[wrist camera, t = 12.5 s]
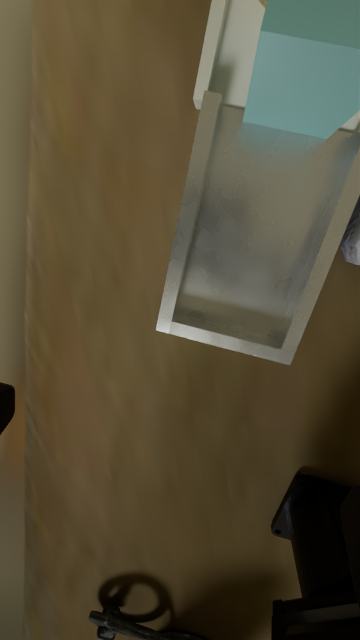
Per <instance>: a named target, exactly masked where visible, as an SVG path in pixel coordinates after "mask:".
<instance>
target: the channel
mask: <svg viewBox="0 0 360 640" xmlns="http://www.w3.org/2000/svg"><path fill="white" fill-rule="evenodd" d="M244 112H245V111H243V110H238V109H233V108H228V107H224V106H222V94H220V93H215V92H210V91H205V90H204V94H203V99H202V104H201V109H200V114H199V119H198V124H197V129H196V134H195V139H194V144H193V149H192V154H191V158H190V163H189V168H188V173H187V178H186V183H185V188H184V193H183V198H182V203H181V208H180V213H179V218H178V223H177V228H176V233H175V238H174V243H173V248H172V253H171V257H170V262H169V267H168V272H167V277H166V282H165V287H164V292H163V297H162V302H161V307H160V312H159V317H158V322H157V327H156V330H157V331H161V332H165V333H169V334H172V335H176V336H180V337H184V338H188V339H192V340H195V341H199V342H203V343H207V344H211V345H214V346H218V347H222V348H226V349H230V350H234V351H237V352H241V353H245V354H249V355H253V356H257V357H260V358H264V359H268V360H272V361H276V362H280V363H283V364H287V365H290V364H291V362H292V359H293V357H294V354H295V352H296V349H297V347H298V345H299V342H300V340H301V337H302V335H303V332H304V330H305V327H306V325H307V323H308V320H309V318H310V315H311V313H312V310H313V308H314V305H315V303H316V301H317V298H318V296H319V293H320V291H321V288H322V286H323V283H324V281H325V279H326V276H327V274H328V271H329V269H330V266H331V264H332V261H333V259H334V257H335V254H336V252H337V249H338V247H339V244H340V242H341V239H342V237H343V235H344V232H345V230H346V227H347V225H348V222H349V220H350V218H351V215H352V213H353V210H354V208H355V205H356V203H357V200H358V198H359V196H360V130H358V131H357V132H355V133H354V134H353V133H348V132H343V131H338V130H336V131H335V132H334V133H333V134H332V135H331V136H330V137H328V138H327V139H324V138H319V137H314V136H309V135H304V134H300V133H295V132H290V131H285V130H280V129H276V128H271V127H266V126H261V125H256V124H251V123H247V122H243V117H244Z"/></svg>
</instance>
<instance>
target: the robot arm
mask: <svg viewBox="0 0 360 640" xmlns="http://www.w3.org/2000/svg"><path fill="white" fill-rule="evenodd" d="M14 412H15V389H14V387H13V386H12V385H8V384H5V383H1V382H0V435H1V433H2V432H3V431H4V429H5V428H6V426H7V425H8V423H9V422H10V421H11V419H12V418H13V415H14ZM302 481H304V482H302ZM271 530H272V533H273V534H274V535H276V536H279V537H282V538H285V539H289V540H291V544H292V549H293V554H294V559H295V564H296V569H297V574H298V579H299V584H300V589H301V594H302V598H298V599H292V600H286V601H282V600H281V599H280V600H274V601H273V616H272V636H271V640H360V483H357V484H355V485H354V486H353V487H352V488H349V487H346V486H342V485H339V484H335V483H332V482H328V481H325V480H321V479H318V478H314V477H310V476H307V475H303V474H300V475H297V476H296V477H295V478H294V480H293V482H292V484H291V486H290V488H289V490H288V492H287V494H286V497H285V499H284V501H283V503H282V505H281V507H280V509H279V511H278V513H277V515H276V517H275V519H274V521H273V523H272V525H271Z"/></svg>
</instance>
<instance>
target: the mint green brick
mask: <svg viewBox="0 0 360 640" xmlns="http://www.w3.org/2000/svg"><path fill="white" fill-rule="evenodd" d="M359 110H360V0H267V5H266V9H265V13H264V17H263V21H262V25H261V29H260V34H259V39H258V44H257V49H256V55H255V60H254V65H253V70H252V75H251V81H250V86H249V91H248V96H247V101H246V106H245V112H244V117H243V122H247V123H251V124H256V125H261V126H266V127H271V128H276V129H280V130H285V131H290V132H295V133H300V134H304V135H309V136H314V137H319V138H324V139H327V138H328V137H330V136H331V135H332V134H333V133H334V132H335V131H336V130H338V129H339V128H340V127H341V126H342V125H343V124H344V123H346V122H347V121H348V120H349V119H350V118H351V117H353V116H354V115H355V114H356V113H357V112H358V111H359Z"/></svg>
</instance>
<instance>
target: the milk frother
mask: <svg viewBox="0 0 360 640" xmlns="http://www.w3.org/2000/svg"><path fill="white" fill-rule="evenodd" d="M89 621H91V622H92V623H94V624H95V625H97V626H98V630H97V637H98V639H101V640H114V638H115V635H116V633H119V634H122V635H125V636H129V637H134V638H138V639H142V640H203V639H201V638H199V637H197V636H193V635H190V634H186V633H179V632H164V633H159V632H157V631H155V630H153V629H150V628H148V627H145V626H142V625H139V624H136V623H133V622H130V621H127V620H123V619H121V615H120V608H118V607H116V606H112V605H108V604H107V605H105V607H104V608H103V612H102V613H101V612H98V611H91V612H90V616H89Z"/></svg>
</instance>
